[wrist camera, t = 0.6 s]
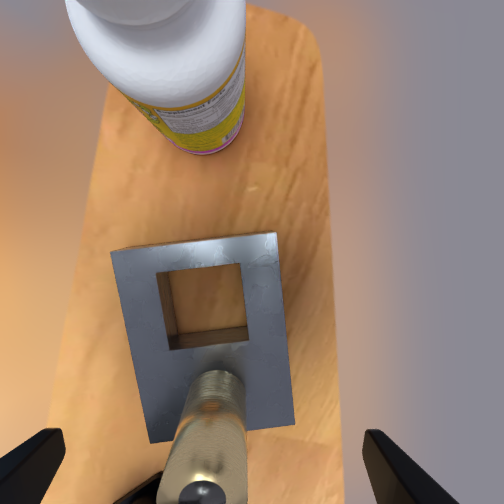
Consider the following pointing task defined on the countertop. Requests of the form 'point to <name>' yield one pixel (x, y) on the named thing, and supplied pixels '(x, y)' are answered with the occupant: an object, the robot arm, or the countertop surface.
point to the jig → (208, 342)
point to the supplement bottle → (172, 63)
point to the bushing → (209, 445)
